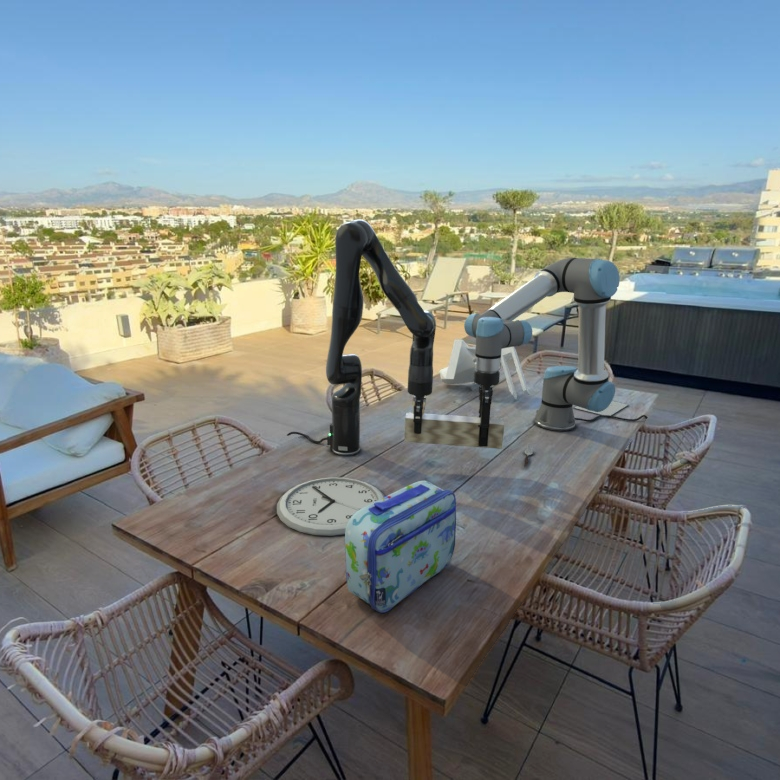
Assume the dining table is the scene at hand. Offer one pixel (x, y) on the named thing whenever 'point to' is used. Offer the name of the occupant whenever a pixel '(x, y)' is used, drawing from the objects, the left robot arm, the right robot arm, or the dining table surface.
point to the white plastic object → (464, 366)
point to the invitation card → (609, 410)
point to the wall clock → (325, 504)
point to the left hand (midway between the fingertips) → (418, 429)
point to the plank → (453, 430)
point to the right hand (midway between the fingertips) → (482, 441)
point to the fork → (527, 454)
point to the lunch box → (399, 543)
